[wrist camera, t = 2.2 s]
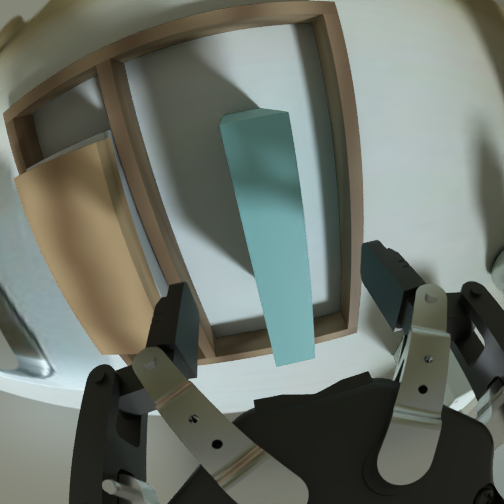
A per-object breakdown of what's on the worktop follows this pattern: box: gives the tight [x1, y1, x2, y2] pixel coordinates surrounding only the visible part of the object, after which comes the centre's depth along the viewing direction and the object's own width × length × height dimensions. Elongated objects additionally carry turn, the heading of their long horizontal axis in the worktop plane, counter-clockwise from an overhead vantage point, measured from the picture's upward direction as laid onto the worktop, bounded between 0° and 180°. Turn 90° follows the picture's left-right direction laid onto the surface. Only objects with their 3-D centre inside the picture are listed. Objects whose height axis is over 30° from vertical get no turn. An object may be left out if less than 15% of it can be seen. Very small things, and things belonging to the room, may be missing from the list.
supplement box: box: [394, 340, 475, 411], centre depth 26 cm, size 7×7×13 cm
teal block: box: [219, 108, 315, 367], centre depth 16 cm, size 2×14×9 cm, turn 11°
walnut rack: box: [3, 1, 364, 366], centre depth 19 cm, size 24×28×2 cm
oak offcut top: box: [14, 137, 161, 355], centre depth 16 cm, size 7×16×2 cm, turn 7°
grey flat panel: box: [26, 130, 169, 297], centre depth 18 cm, size 7×16×2 cm, turn 9°
